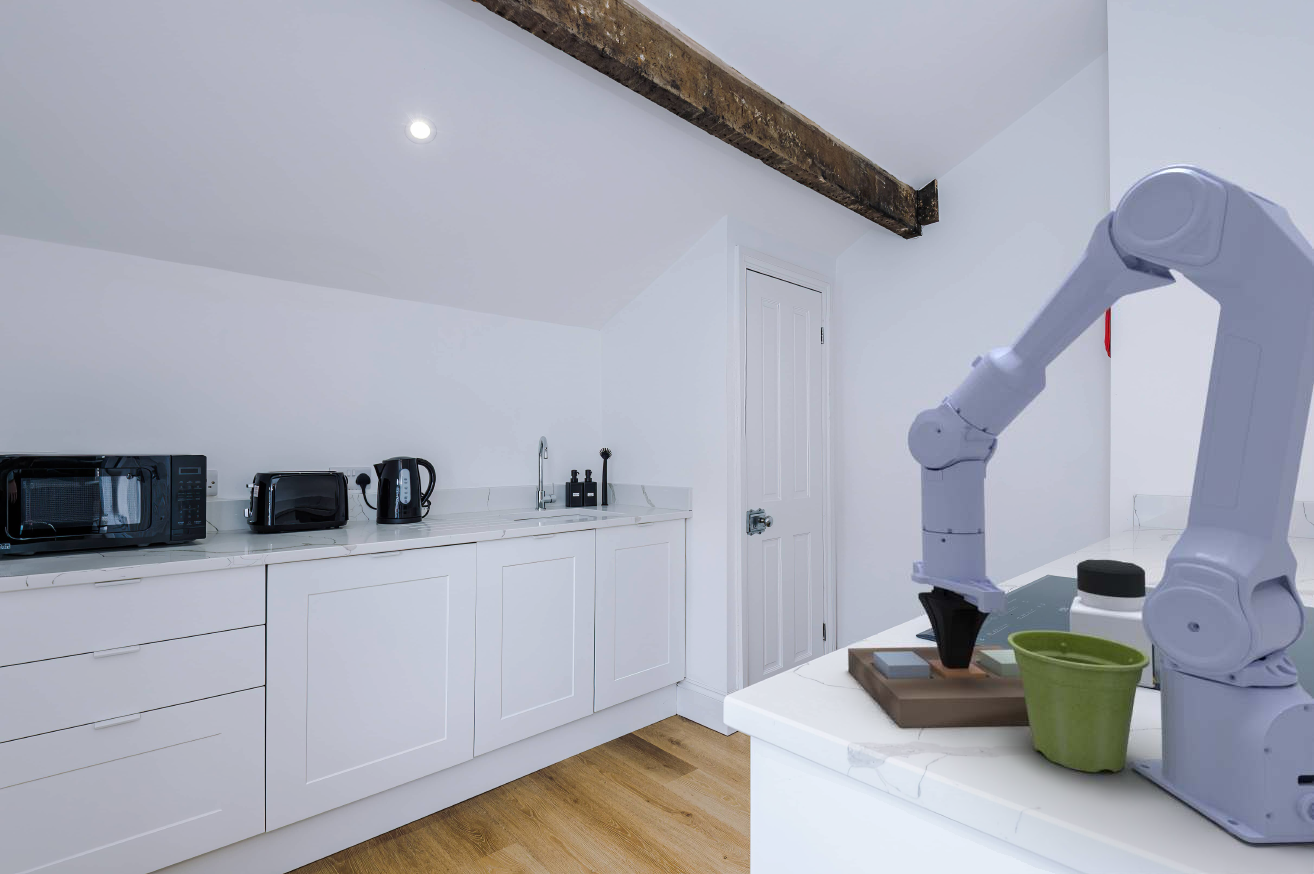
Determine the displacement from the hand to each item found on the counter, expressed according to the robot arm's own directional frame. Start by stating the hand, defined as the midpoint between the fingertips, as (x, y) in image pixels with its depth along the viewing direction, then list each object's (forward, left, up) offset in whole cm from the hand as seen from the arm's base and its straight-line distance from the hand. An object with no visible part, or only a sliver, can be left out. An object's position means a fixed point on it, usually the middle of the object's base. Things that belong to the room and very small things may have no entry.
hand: (955, 666), depth 62 cm
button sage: (0, -6, -1) cm, 6 cm away
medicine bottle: (+5, -20, -3) cm, 21 cm away
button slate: (0, +5, -1) cm, 6 cm away
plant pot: (-12, -4, -3) cm, 13 cm away
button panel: (0, 0, -3) cm, 3 cm away
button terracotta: (0, 0, -2) cm, 2 cm away
